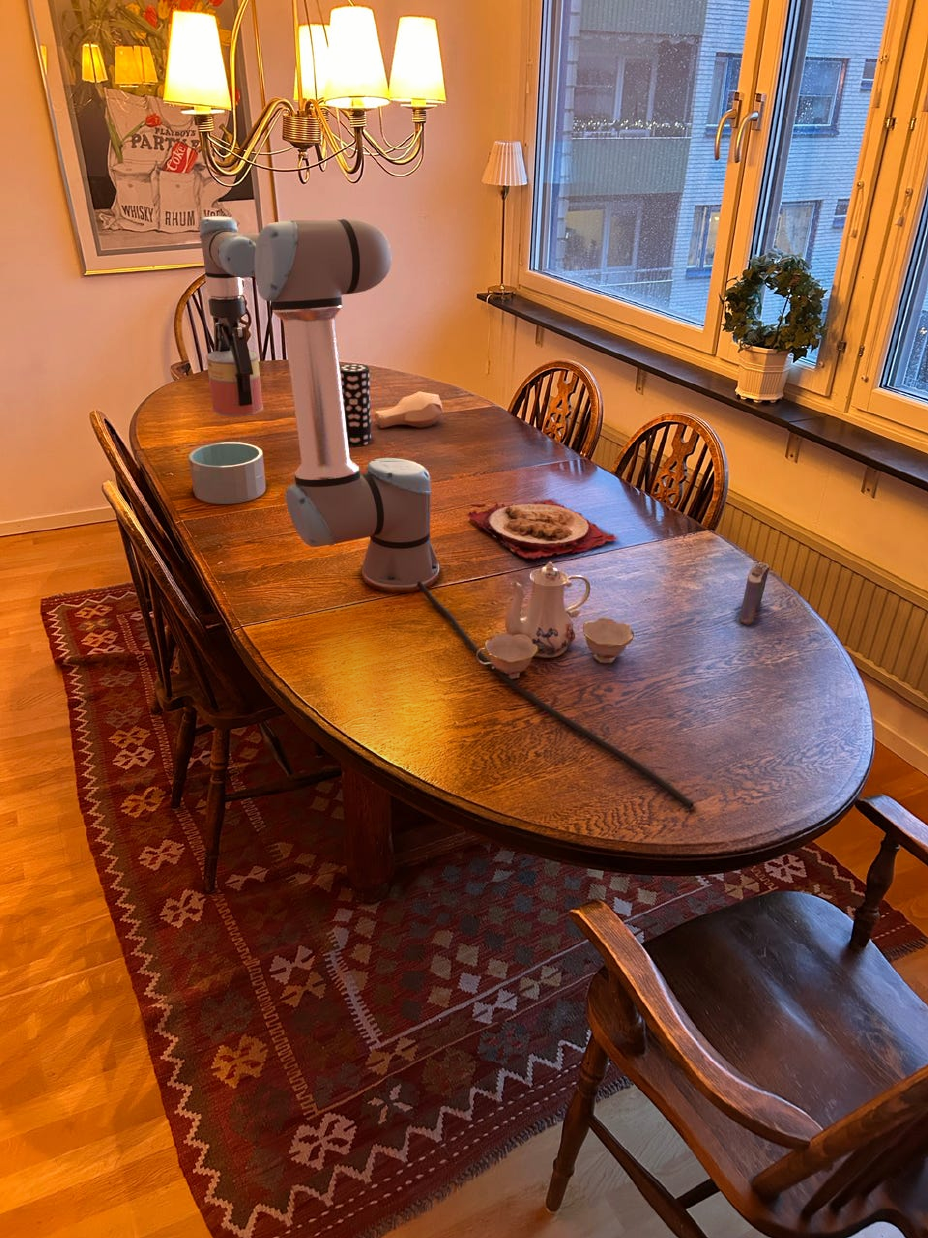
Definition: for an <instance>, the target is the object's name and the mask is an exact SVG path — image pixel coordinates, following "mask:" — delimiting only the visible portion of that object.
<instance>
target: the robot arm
mask: <svg viewBox="0 0 928 1238" xmlns="http://www.w3.org/2000/svg"><path fill="white" fill-rule="evenodd" d="M199 238H200V243H201V250H202V259H203V266H204V274H205V275H204V278H205V288H206V294H207V295H208V299H207V301H208V310H209V315H210V316H211V317H212V321H213V352H214V351H220V352H223V351H231V352H232V355H233V359H234V362H236V369H237V373H236V374H235V377H237V387H238V396H239V405H240V406H245V405H252V396H251V385H250V375H253V369H252V364H251V359H250V354H249V350H250V349H249V344H248V340H247V332H246V331H247V330H246V327H245V326H241V325H240V322H239V318H240V317H244V316H245V315H246V303H245V298H244V297H243V294H244V285H243V284H245V279H247V278H251V277H253V276H255V277H254V278H255V284H256V286H257V292H258V293H259V296H260V297H261V298H262V299H263V300H264V301H267V302H270V303H271V308H272V309H271V311H272V313H273V314H274V315H276V316H277V317H278V318H279V319H280V320H281V321H282V324H283V332H284V338H285V345H286V354H287V363H288V369H289V376H290V385H291V393H292V401H293V407H294V408H293V409H294V416H295V424H296V432H297V437H298V439H297V441H298V447H299V454H300V455H299V456H300V461H301V462H300V465H299V466H298V468H297V469H296V470H295V471H294V474H293V475H294V483H295V484H291V485H290V486H288V487H287V488H286V491H285V493H286V495H285V501H286V507H287V510H288V514H289V517H290V520H291V522H292V525H293V527H294V529H295V531H296V533H297V534H298V537H300V539H301V541H303V543H305V544H306V545H307V546H309V547H311V548H312V547H313V548H320V547H326V546H331V547H333V546H336V544H341V543H346V542H350V541H355V540H360V539H365V538H369V543H368V545H367V549H366V552H365V555H364V558H363V561H362V565H361V577H362V580H363V581H364V583H365V584H366V585H368V586H369V587H371V588H373V589H375V590H378V591H381V592H384V593H385V592H386V593H391V594H404V593H405V594H406V593H415V592H419V591H421V592H422V593H423V595H424V596H425V597H426V598H427V600H429V601H430V603H431V604H432V605H433V606H434V607H435V608H436V609H437V610H438V611H440V613H441V614H442V615H444V616H445V617H446V619H447V620H448V621H449V622H450V623H451V624H452V626H453V627H454V629H455V630H456V632H457V633H458V635H459V636H460V637H461V639H462V640H463V641H464V642H465V644H466V645H467V647H469V649H470V650H471V651H472V652H473V653H474V654H475V655H476V654H477V652H478V650H479V649H480V648H479V647H478V646H477V645H476V643H474V642H473V640H472V639H471V638H470V637H469V635H468V634H467V633H466V631H465V630H464V629H463V628H462V626H461V624H460V623H459V622H458V620H456V618H455V617H454V616H453V615H452V614H451V613H450V611H448V609H447V608H445V607H444V606H443V605H442V603H440V602H439V601H438V600H437V598H435V596H434V595H433V594H432V593H431V592H430V591H429V589H428V588H430V587H431V586H433V585H434V584H435V583H437V582H438V580H439V578H440V564H439V561H438V558H437V555H436V552H435V549H434V546H433V544H432V541H431V507H432V506H431V505H432V504H431V502H432V501H431V499H432V498H431V497H432V496H431V495H432V493H433V492H432V486H431V475H430V472H429V470H428V469H427V468H425V466H423V465H421V464H420V463H418V462H415V461H411V460H409V459H408V460H407V459H403V458H395V457H381V458H375V459H373V460H371V461H370V462H368V464H367V467H366V471H367V472H364V473H361V471H360V466H359V465H358V464H357V463H355V462H354V461H353V460H352V459H351V455H350V448H349V445H348V438H347V428H346V419H345V410H344V401H343V391H342V382H341V373H340V355H339V347H338V337H337V328H336V317H337V315H338V314H339V312H340V311H341V310H342V309H343V299H342V296H343V295H353V294H360V293H364V292H367V291H370V290H372V289H373V288H376V287H377V286H378V285H379V284H380V283H381V282H382V281H384V279H385V278H386V277H387V275H388V274H389V272H390V268H391V266H392V261H393V252H392V247H391V244H390V242H389V240H388V238H387V236H386V234H385V233H384V232H383V231H382V230H380V228H378V227H377V226H375V225H374V224H373V223H370V222H367V221H365V220H360V219H354V218H341V219H296V220H295V219H293V220H292V219H289V220H284V221H283V220H282V221H276V222H270V223H268V224H266V225H265V226H263V228H262V229H261V231H260V232H254V233H253V232H251V233H240V231H239V229H238V223H237V220H236V219H235V218H233V217H230V216H221V215H220V216H218V215H217V216H215V215H214V216H205V217H202V218H201V219H200V220H199ZM244 369H245V370H244ZM478 659H479V660H480V661H481V662H483V663H488V662H491V660H490V658H489V657H487V655H485V654H484V653H483V651H482V650H481V651H480V652H479V653H478ZM486 666H487V667H488V668H489V669H490V670H491V671H492V672H493V673H494V674H495V675H497V676H498V677H499V678H500V679H501V680H502V681H504V682H505V683H506V684H507V685H509V686H510V687H511V688H512V689H513V690H515V691H516V692H518V694H520V695H522V696H523V697H524V698H525V699H527V700H529V701H530V702H532V703H533V704H534V705H535V706H537V707H539V708H540V709H541V710H543V711H545V712H546V713H548V714H549V715H550V716H552V717H554V718H556V719H557V720H559V721H560V722H561V723H563V724H565V725H566V726H568V727H570V728H571V729H572V730H574V731H575V732H576V733H577V732H578V733H579V734H580V735H582V736H584V737H586V738H587V739H589V740H590V741H591V742H593V743H595V744H597V745H598V746H599V747H600V748H603V749H605V750H606V751H608V753H610V754H612V755H614V756H615V757H616V758H618V759H620V760H622V761H623V762H625V763H626V764H628V765H629V766H630V767H632V768H634V769H635V770H637V771H638V772H639V773H641V774H642V775H644V776H645V777H646V778H648V779H649V780H651V781H652V782H653V783H655V784H657V786H659V787H660V788H662V790H664V791H665V792H667V793H668V794H669V795H670V796H672V797H673V798H674V799H676V800H677V801H678V802H679V803H681V804H682V805H684V806H685V807H686V808H688V809H689V810H691V809H692V808H693V807H694V805H695V804H694V802H693V801H692V800H690V799H689V798H688V797H686V796H685V795H684V794H682V793H681V792H680V791H679V790H677V789H676V788H675V787H673V786H672V785H671V784H670V783H668V782H667V781H665V779H663V778H662V777H660V776H659V775H657V774H656V773H655V772H654V771H652V770H650V769H649V768H648V767H646V766H645V765H643V764H641V763H640V762H639V761H637V760H636V759H634V758H632V757H631V756H629V755H628V754H626V753H625V752H623V751H622V750H620V749H618V748H617V747H615V746H614V745H612V744H611V743H609V742H608V741H606V740H605V739H603V738H601V737H599V736H598V735H596V734H594V733H593V732H591V731H589V730H588V729H587V728H585V727H583V726H582V725H580V724H578V723H577V722H575V721H573V720H572V719H571V718H569V717H568V716H565V715H564V714H563V713H561V712H559V711H558V710H556V709H554V708H553V707H551V706H550V705H549V704H546V702H544V701H542V700H541V699H540V698H538V697H537V696H535V695H534V694H532V693H531V692H530V691H528V690H527V689H525V688H524V687H523V686H521V685H520V684H519V683H517V682H516V681H515V680H514V679H511V678H510V677H508V676H507V675H506V674H505V673H502V672H500V671H499V670H497V669H496V668H493V669H492V667H493V664H487V665H486Z"/></svg>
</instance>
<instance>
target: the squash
mask: <svg viewBox="0 0 928 1238" xmlns="http://www.w3.org/2000/svg"><path fill="white" fill-rule="evenodd" d="M442 414H443V404H442V401H441V399H440V396H439V394H435V393H429V392H423V391H420V390H419V391H417V392H415V393H413V394H410V395H407V396H404V397H402V398H401V399H400V400H399V402H398V403H397V404H396V405H395V406H394V407H392V408H389V409H384V410H377V411H374V419H375V420H376V423H377V425H378V426H379V428H380V429H385V428H388V427H391V426H396V425H407V426H410V427H416V428H426V427H431V426H433V425H434V424H435V423H437V422H438V421H440V420H441V419H442Z"/></svg>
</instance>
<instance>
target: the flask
mask: <svg viewBox="0 0 928 1238" xmlns="http://www.w3.org/2000/svg"><path fill="white" fill-rule="evenodd" d="M752 564H753V566H752V568H751V569H750V571H749V573H748V576H747V580H746V583H745V590H744V595H743V598H742V603H741V607H740V612H739V616H738V622H739V623H740V624H741V625H747V626H749V625H751V624H752V623H754V619H755V618H756V614H758V612H757V611H759V609H760V608H761V604H762V600H763V595H764V591H765V588H766V583H767V579H768V575H769V571H770V568H771V566H770V565H769V564H768V563H766V562H762V561H757V560H755V561H753V563H752Z"/></svg>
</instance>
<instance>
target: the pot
mask: <svg viewBox="0 0 928 1238" xmlns="http://www.w3.org/2000/svg"><path fill="white" fill-rule="evenodd" d="M188 461H189V469H190V476H191V483H192V489H193V494H194V496H195V498H197V499H198V500H199V501H202V502H204V503H208V504H215V505H233V504H240V503H245V502H249V501H253V500H255V499H257V498H259V497H261V496H262V495H264V493H265V491H266V489H267V486H266V485H267V483H266V475H265V464H264V463H265V462H264V455H263V450H262V449H261V448H260V447H259V446H256V445H255V444H251V443H245V442H239V441H238V442H237V441H236V442H235V441H228V442H226V441H224V442H216V443H210V444H206V445H203V446H199V447H197V448H195V449H193V450H191V452H190V453H189V454H188Z"/></svg>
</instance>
